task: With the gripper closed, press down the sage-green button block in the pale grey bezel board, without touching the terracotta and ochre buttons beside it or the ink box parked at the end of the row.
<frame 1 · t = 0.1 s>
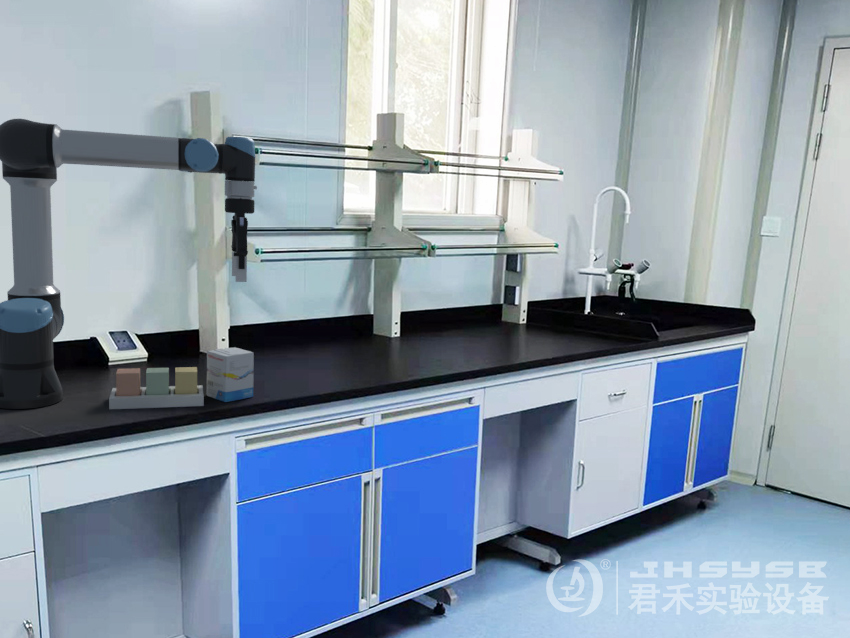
hand: (238, 278, 199), 28 cm above the counter, fingers open, 13 cm apart
terracotta button: (128, 383, 177), point 5 cm above the counter, slide at 0.0 cm
ochre button: (186, 381, 181), point 5 cm above the counter, slide at 0.0 cm
sage button: (157, 382, 179), point 5 cm above the counter, slide at 0.0 cm
ink box: (229, 397, 188), on the counter
bezel board: (157, 401, 180), on the counter
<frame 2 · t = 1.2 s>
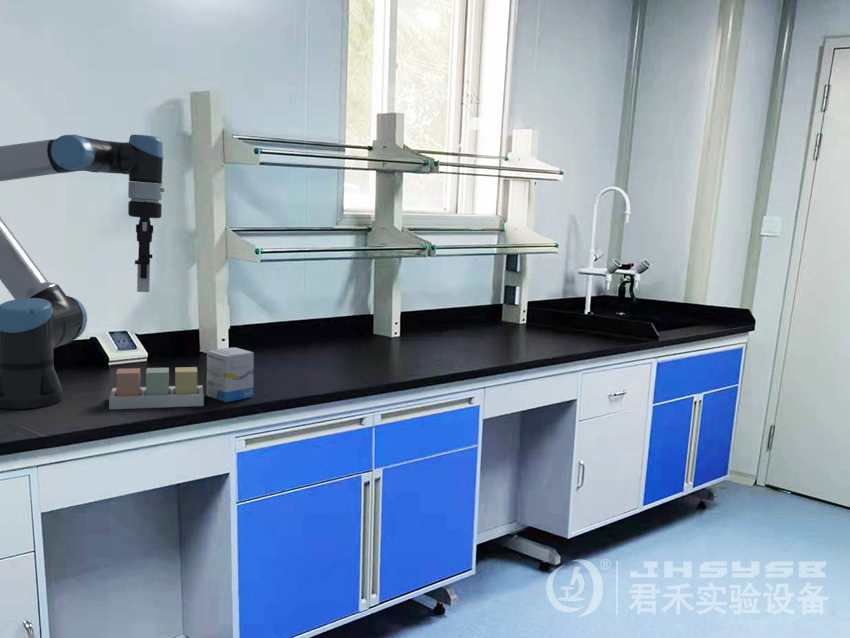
hand: (143, 288, 184), 26 cm above the counter, fingers open, 13 cm apart
nothing on the counter moved.
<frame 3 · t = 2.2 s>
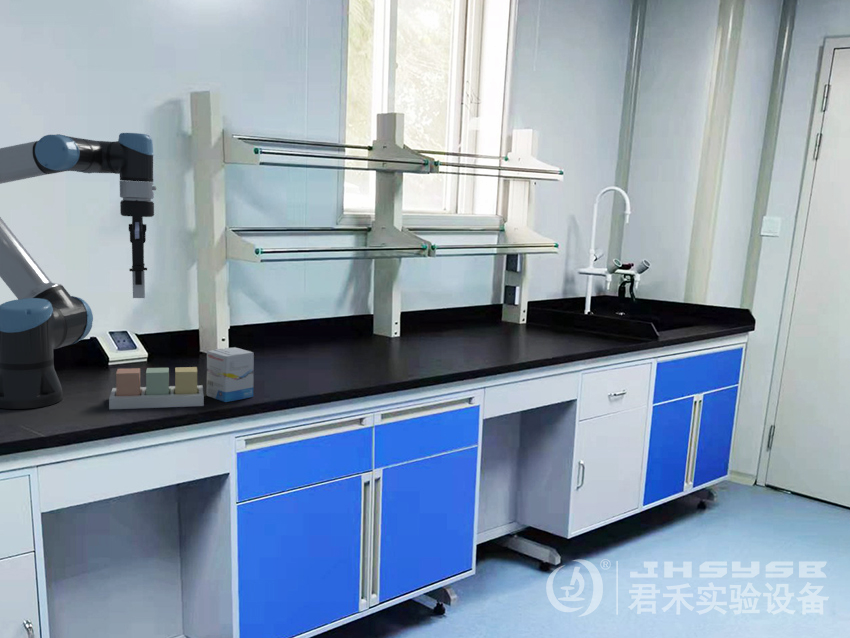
hand: (138, 297, 182), 24 cm above the counter, fingers closed
nothing on the counter moved.
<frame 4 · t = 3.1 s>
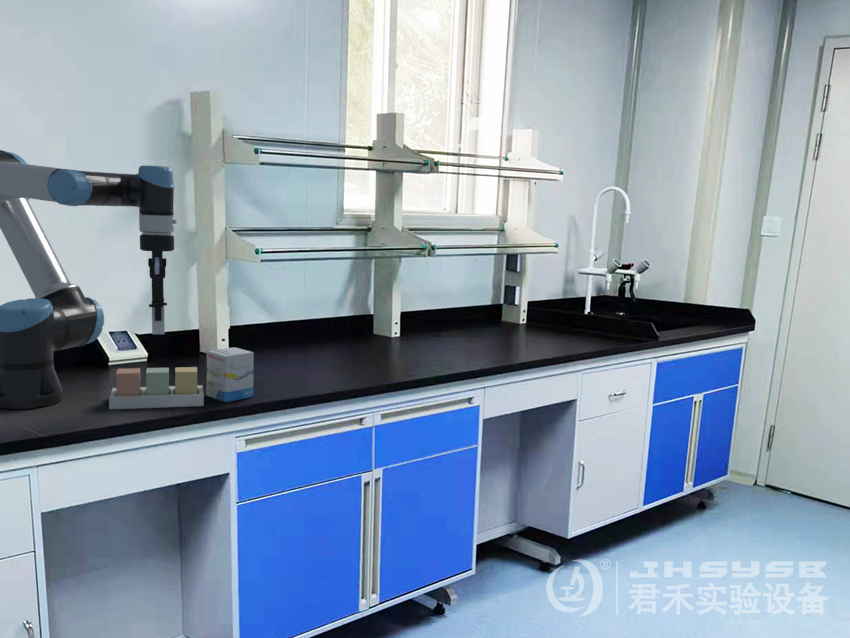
hand: (158, 333, 177), 17 cm above the counter, fingers closed
nothing on the counter moved.
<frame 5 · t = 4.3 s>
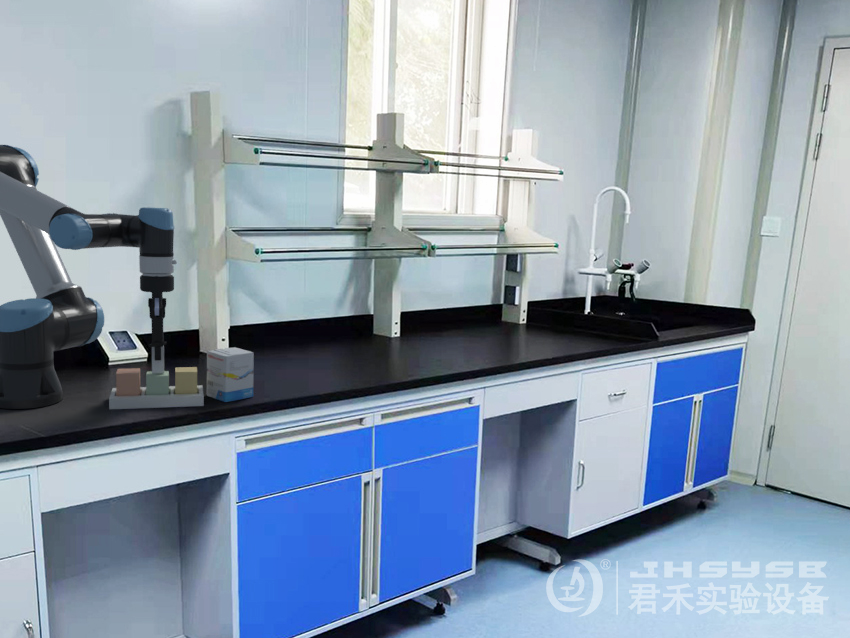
hand: (158, 372, 178), 7 cm above the counter, fingers closed
sage button: (157, 385, 179), point 4 cm above the counter, slide at 0.8 cm, touching gripper
everything else where it was.
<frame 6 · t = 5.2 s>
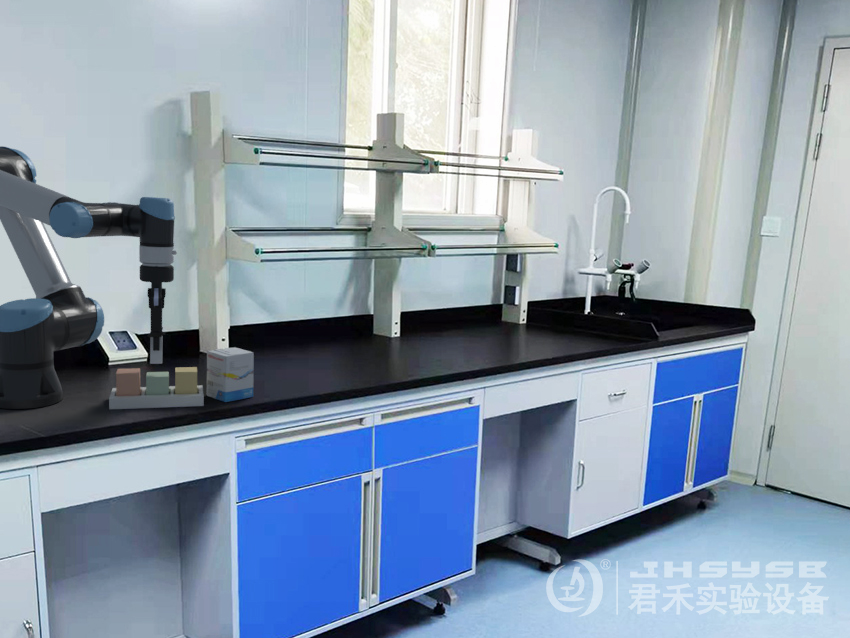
hand: (156, 362, 178), 10 cm above the counter, fingers closed
sage button: (157, 386, 179), point 4 cm above the counter, slide at 1.0 cm
everything else where it was.
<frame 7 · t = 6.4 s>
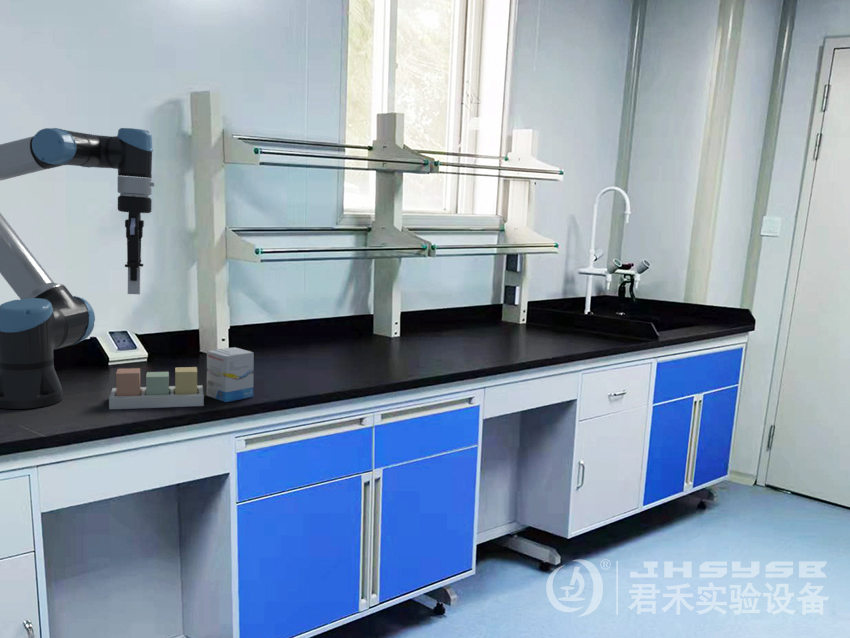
hand: (133, 293, 181), 25 cm above the counter, fingers closed
nothing on the counter moved.
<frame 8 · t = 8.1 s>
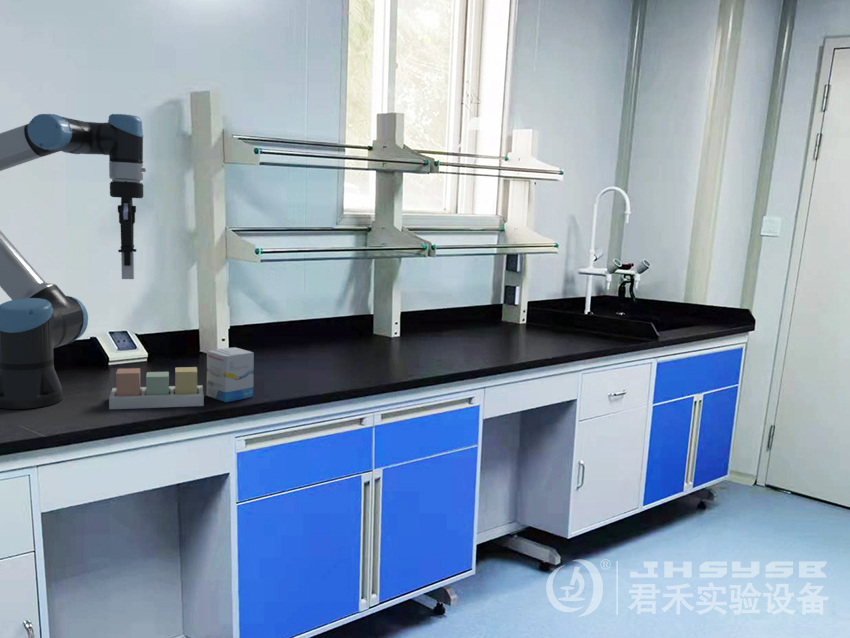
hand: (127, 278, 183), 28 cm above the counter, fingers closed
nothing on the counter moved.
at the end: sage button slide at 1.0 cm; terracotta button slide at 0.0 cm; ochre button slide at 0.0 cm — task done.
